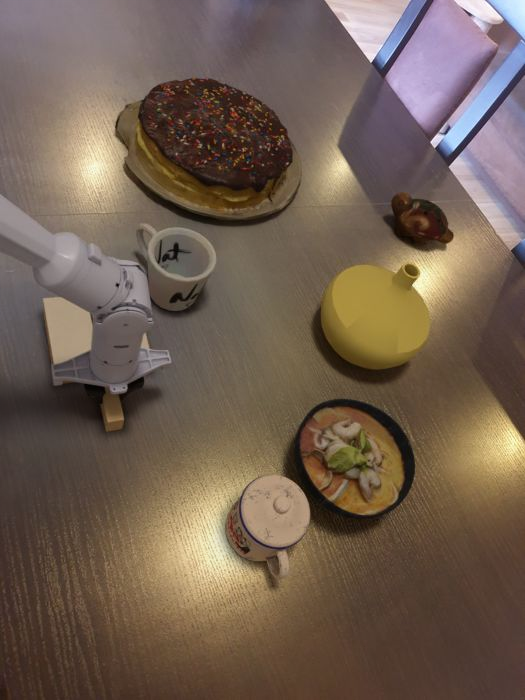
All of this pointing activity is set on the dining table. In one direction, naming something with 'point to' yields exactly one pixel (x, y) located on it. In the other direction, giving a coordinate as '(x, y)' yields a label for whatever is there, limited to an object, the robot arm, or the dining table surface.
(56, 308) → the sponge cake
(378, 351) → the vase
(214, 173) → the cake
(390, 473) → the bowl
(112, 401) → the knife
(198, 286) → the mug
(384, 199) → the dining table surface
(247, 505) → the teacup with lid
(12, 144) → the dining table surface
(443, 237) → the decorative turtle
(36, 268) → the robot arm
